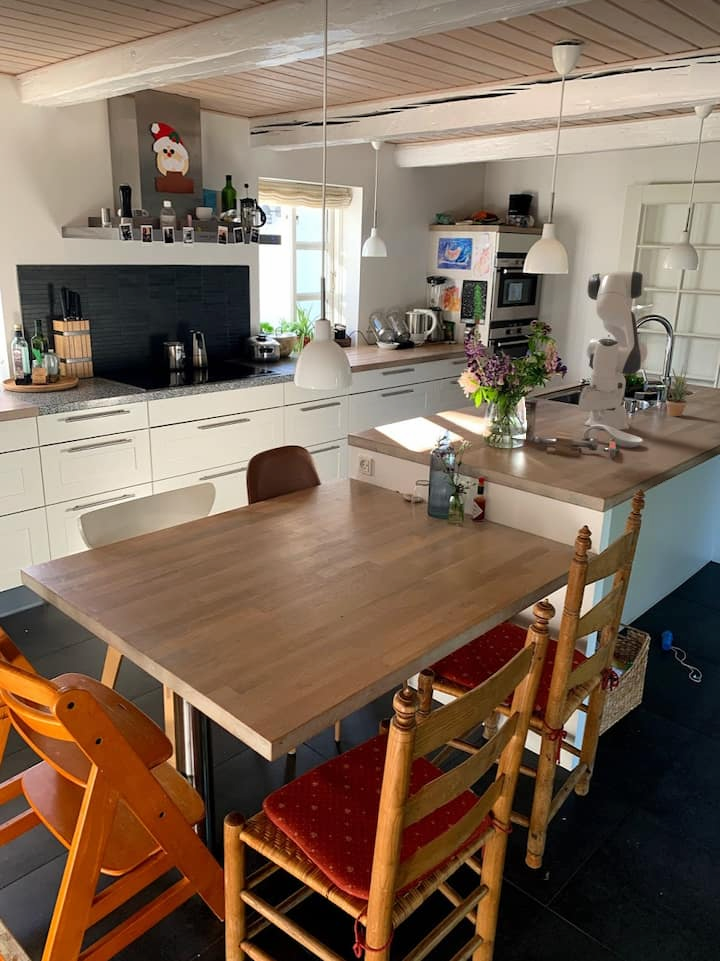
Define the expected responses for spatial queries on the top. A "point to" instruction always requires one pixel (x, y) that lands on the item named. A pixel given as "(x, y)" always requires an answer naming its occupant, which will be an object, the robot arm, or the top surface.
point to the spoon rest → (616, 436)
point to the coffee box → (530, 417)
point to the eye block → (563, 445)
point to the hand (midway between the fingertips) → (598, 421)
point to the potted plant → (677, 396)
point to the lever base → (608, 447)
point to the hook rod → (591, 445)
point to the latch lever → (612, 449)
